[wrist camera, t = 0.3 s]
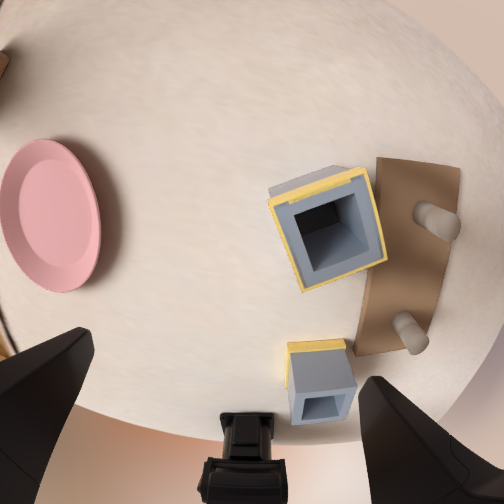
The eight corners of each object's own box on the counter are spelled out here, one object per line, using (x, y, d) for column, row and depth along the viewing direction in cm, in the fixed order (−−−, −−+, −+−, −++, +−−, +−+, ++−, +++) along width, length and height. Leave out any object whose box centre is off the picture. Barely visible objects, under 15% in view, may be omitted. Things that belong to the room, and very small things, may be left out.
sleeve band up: (355, 228, 20) (387, 259, 14) (290, 253, 21) (302, 292, 15) (334, 161, 18) (365, 168, 12) (264, 187, 19) (267, 204, 13)
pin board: (418, 339, 24) (438, 369, 19) (352, 350, 24) (366, 386, 20) (453, 167, 18) (491, 176, 13) (376, 157, 18) (410, 162, 13)
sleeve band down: (335, 376, 26) (347, 420, 20) (284, 380, 26) (289, 426, 20) (343, 338, 24) (360, 384, 18) (286, 342, 24) (293, 392, 18)
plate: (122, 144, 18) (110, 145, 16) (110, 300, 23) (101, 312, 21) (14, 136, 17) (1, 137, 15) (15, 262, 22) (4, 269, 20)
